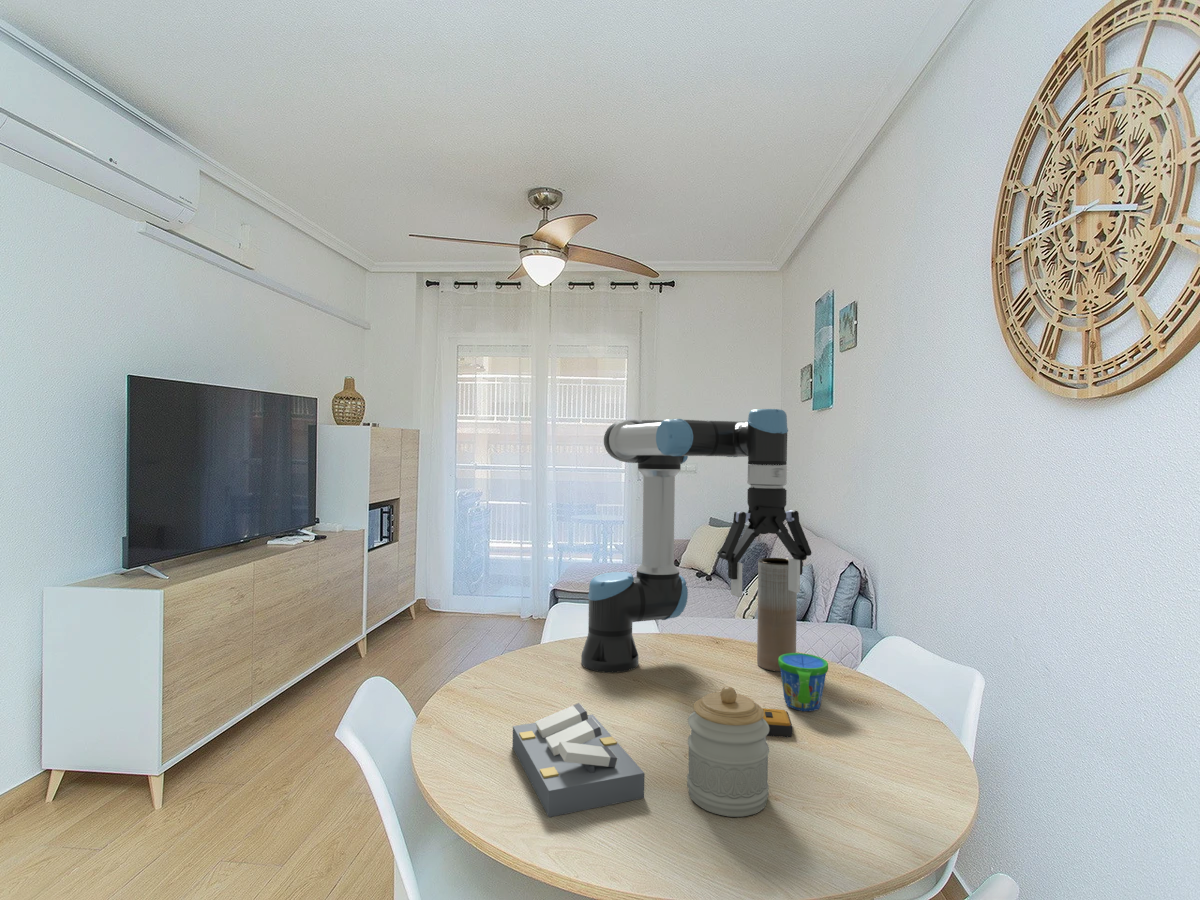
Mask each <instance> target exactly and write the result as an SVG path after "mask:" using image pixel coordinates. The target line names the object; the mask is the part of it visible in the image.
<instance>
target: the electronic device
mask: <svg viewBox="0 0 1200 900" xmlns="http://www.w3.org/2000/svg"><path fill="white" fill-rule="evenodd" d="M762 709H763V710H764V716H763V719H764V720H765V721H766V722H767V723H768V725H769V733H768V735H767V736H766V737H778V738H792V736H793V724H792V721H791V718H790V714H789V712H788V711H786V710H785V709H780V708H779V709H778V708H777V709H776V708H764V707H762Z"/></svg>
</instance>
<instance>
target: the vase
mask: <svg viewBox="0 0 1200 900" xmlns="http://www.w3.org/2000/svg"><path fill="white" fill-rule="evenodd" d="M757 561H758V563H757V566H758V567H757V633H756V636H757V638H756V639H757V641H756V643H757V644H756V646H757V647H756V663H757V666H758V667H759V668H761V669H764V670H766V671H770V672H776V673H777V672H779V673H781V669H780V667H779V664H778V659H779V657H780V656H781V655H783V654H787V653H797V619H798V618H797V611H798V607H797V605H798V603H797V601H798V599H797V598H798V597H797V596H798V593H796V592H793V591H790V590H788V558H782V557H763V558H758V560H757Z"/></svg>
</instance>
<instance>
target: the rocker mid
mask: <svg viewBox="0 0 1200 900" xmlns="http://www.w3.org/2000/svg"><path fill="white" fill-rule="evenodd" d="M601 735H602V732H601V728H600V726H599V725H598V723H597V722H596V721H595V720H594V719H593V718H589V719H587V720H585V721H583V722H581V723H578V724H576V725H574V726H571V727H569V728H567V729H564V730H562V731H560V732H558V733H555V734H553V735H551V736H548V737H546V742H547V746H548V747H549V749H550V750H551V752H552V753H553V755H554V756H555V755H558V754H559V752H558V751H557V750H558V746H559V742H560V741H561V742H569V743H577V744H582V743H585V742H587V741H589V740H591V739H594V738H596V737H598V736H601Z"/></svg>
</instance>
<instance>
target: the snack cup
mask: <svg viewBox="0 0 1200 900" xmlns="http://www.w3.org/2000/svg"><path fill="white" fill-rule="evenodd" d="M778 664H779V667H780V669H781V672H780V677H781V684H782V693H783V699H784V702H785V704H786V705H787V707H788V708H792V709H793V710H796V711H798V712H799V711H800V712H814V711H818V710H819V709H820V707H821V703H822V698H823V692H824V689H825V683H826V676H827V673H828V671H829V663H828V661H827V660H825V659H824V658H822V657H819V656H817V655H814V654H809V653H800V652H796V653H787V654H783V655H781V656H780V657H779V659H778Z"/></svg>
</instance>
